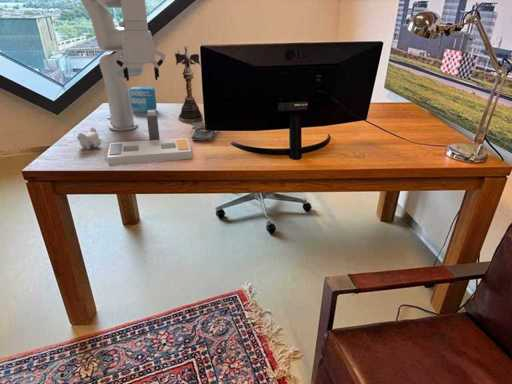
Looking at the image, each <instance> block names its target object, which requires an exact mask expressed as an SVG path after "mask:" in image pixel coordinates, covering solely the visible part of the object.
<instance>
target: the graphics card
mask: <svg viewBox="0 0 512 384" xmlns="http://www.w3.org/2000/svg"><path fill="white" fill-rule="evenodd" d="M204 123H205V122H195V123H191V126H192V128H191V129H192V130H194V131H193V133H192V135H191V140H193V141H194V140H196V141H197V140H198V141H212V139H213V138H214V136H217V134H218V131H217V132H215V131H205V124H204Z"/></svg>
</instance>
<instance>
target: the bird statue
mask: <svg viewBox="0 0 512 384" xmlns="http://www.w3.org/2000/svg"><path fill="white" fill-rule="evenodd" d="M180 52H181V50H180V49H179V48H177V51H176V52H174V57H175V62H176V63H175V65H176V66H177V65H178V64H181V65H184V69H183V72H182V75H183V79H184V80H185V82H186V83H185V89H186V94H187V95H186V97H184V103H183V105H182V107H181V109H180V110H181V111H180V113H179V115H178V121H179V122H182V123H185V124H186V123H189V124H193V123H200V122H201V120H203V114H202V113H201V110H200V106H199V105H198V104H197V102H196V100H195V98H194V96H193V91H192V90H193V87H192V80H193V79H194V72H193V70H192V68H191V65H196V64H198V65H200V66H201V62H200V54H199V53H197V52H195V53H189V47H188V46H187V45H184V52H185V53H180Z"/></svg>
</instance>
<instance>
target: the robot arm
mask: <svg viewBox="0 0 512 384" xmlns="http://www.w3.org/2000/svg"><path fill="white" fill-rule="evenodd" d="M80 1H81V3H82V5H83V7H84V9H85V11H86V12H87V14H88V16H89V17H90V21H91V24H92V25H91V26H92V27H93V28H92V29H93V32H94V36H95V39H96V40H95V41H96V42H97V46H98V48H99V49H100V50H101V51H102V52H111V53H110V54H105V55H102V56H101V57H100V58H99V61H98V63H99V64H98V65H99V68H100V71H101V75H102V78H103V81H104V85H105V92H106V96H107V102H108V109H109V113H110V114H109V115H108V116H107V117H106V120H108V121H109V124H108V128H109V129H110V130H111V131H115V132H125V131H130V130H131V131H132V130H134V129H136V128H137V127H138V126H139V125H138V122H137V121H135V120H134V115H133V113H134V112H133V111H132V106H131V99H130V92H129V90H130V88H129V85H128V84H127V83H126V82H125V81H124V80H123V79H122V78H124V79H126V81H127V82H129V81H130V77H138V76H142V74H143V73H144V64H152V65H153V66H154V67H153V69H154V70H153V71H154V79H155V80H156V81H158V78H160V70H159V68H160V67H161V66H162V64H163V63H164V61H165V58H166V54H165V53H164V52H161V51H159V50H158V49H156V48H155V47H154V40H153V35H152V32H151V31H150V30H149V27H148V18H147V8H146V7H147V6H146V0H80ZM107 8H108V9H111V8H112V9H113V8H116V9H117V8H118V9H119V8H121V14H122V21H121V22H119V21H118V26H116V25H115V23H114V19H113V15H112V13H111V12H110V11H109V10H108V9H107ZM113 52H115V53H113ZM156 56H159V57H160V59H159V60H158V61H156Z"/></svg>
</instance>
